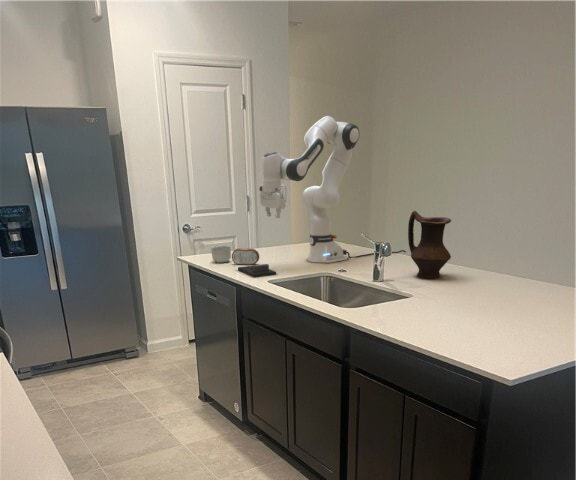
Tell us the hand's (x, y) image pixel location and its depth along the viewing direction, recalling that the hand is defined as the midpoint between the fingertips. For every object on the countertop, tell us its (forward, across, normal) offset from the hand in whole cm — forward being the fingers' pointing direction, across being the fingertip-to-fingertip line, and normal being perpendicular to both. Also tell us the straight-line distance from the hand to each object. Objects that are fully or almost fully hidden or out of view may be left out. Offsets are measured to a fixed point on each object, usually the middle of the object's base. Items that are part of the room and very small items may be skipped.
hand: (273, 217), depth 274 cm
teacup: (+26, +37, +15) cm, 48 cm away
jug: (+27, -55, -54) cm, 81 cm away
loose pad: (+26, -5, +12) cm, 29 cm away
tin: (+26, +21, +8) cm, 35 cm away
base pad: (+26, +4, +11) cm, 29 cm away
